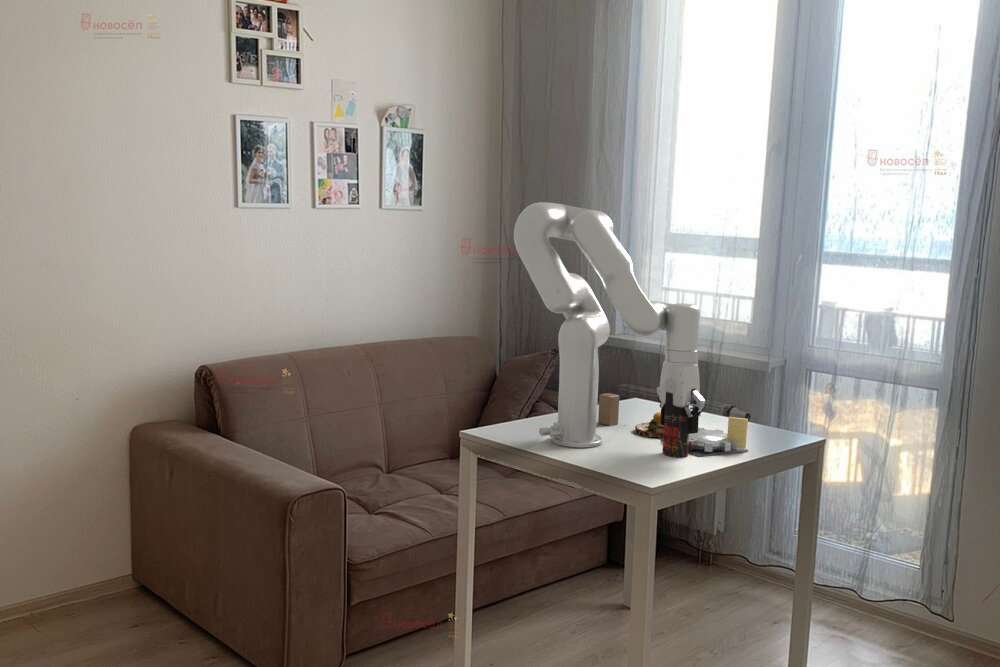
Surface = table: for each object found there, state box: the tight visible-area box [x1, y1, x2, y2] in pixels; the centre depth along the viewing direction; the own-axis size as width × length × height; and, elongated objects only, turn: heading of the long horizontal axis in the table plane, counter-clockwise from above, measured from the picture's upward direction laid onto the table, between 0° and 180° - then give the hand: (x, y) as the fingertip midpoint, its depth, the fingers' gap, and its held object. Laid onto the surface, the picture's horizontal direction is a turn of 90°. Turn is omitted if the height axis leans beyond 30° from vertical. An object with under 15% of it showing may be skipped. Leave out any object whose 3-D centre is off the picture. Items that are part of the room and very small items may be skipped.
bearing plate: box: [660, 439, 749, 458], centre depth 226 cm, size 16×15×1 cm
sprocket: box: [688, 416, 749, 452], centre depth 225 cm, size 18×16×7 cm
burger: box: [634, 411, 664, 440], centre depth 238 cm, size 12×12×8 cm
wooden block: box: [597, 392, 620, 427], centre depth 246 cm, size 4×4×8 cm
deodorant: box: [661, 392, 692, 459], centre depth 217 cm, size 6×6×15 cm
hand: (678, 428), depth 217 cm, fingers open, 9 cm apart
